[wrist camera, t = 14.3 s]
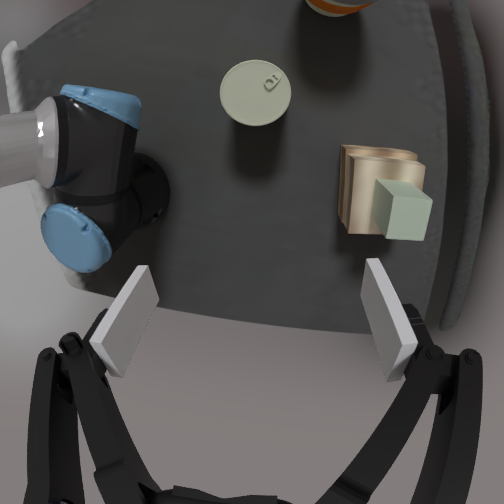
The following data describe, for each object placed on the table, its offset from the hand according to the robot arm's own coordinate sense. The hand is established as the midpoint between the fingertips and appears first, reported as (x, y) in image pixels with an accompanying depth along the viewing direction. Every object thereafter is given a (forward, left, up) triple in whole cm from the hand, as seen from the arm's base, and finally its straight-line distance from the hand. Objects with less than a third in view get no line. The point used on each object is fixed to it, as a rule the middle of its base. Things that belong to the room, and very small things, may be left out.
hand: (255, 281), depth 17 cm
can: (-1, +11, -36) cm, 38 cm away
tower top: (+18, -5, -32) cm, 37 cm away
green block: (+18, -5, -27) cm, 33 cm away
